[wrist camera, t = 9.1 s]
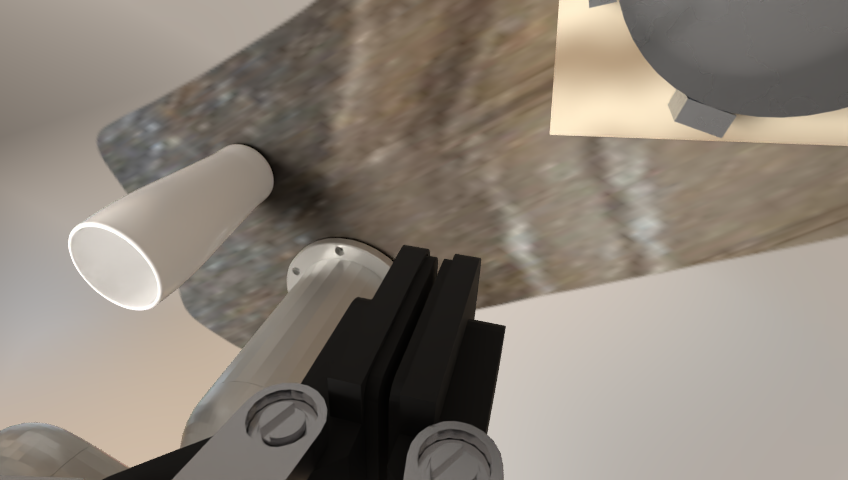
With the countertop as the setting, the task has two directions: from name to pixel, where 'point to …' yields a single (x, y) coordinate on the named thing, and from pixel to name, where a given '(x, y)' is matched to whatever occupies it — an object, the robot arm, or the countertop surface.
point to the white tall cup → (169, 227)
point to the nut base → (645, 90)
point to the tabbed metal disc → (743, 56)
